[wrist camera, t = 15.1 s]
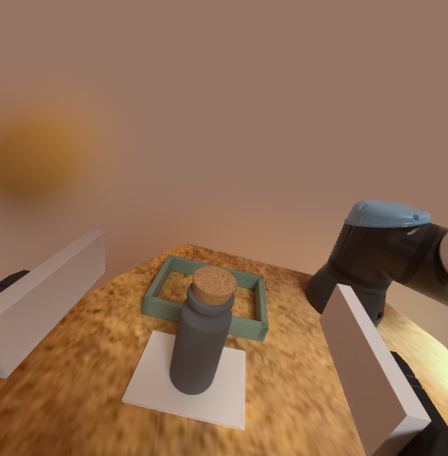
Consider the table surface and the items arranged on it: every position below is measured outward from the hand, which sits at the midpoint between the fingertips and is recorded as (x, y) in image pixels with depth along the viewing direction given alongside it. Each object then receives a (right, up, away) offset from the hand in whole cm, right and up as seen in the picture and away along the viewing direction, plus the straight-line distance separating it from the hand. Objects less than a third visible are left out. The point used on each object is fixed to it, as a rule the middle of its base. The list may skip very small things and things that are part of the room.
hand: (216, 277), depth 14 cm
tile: (-4, -16, +18) cm, 25 cm away
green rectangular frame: (-2, -10, +32) cm, 34 cm away
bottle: (-4, -16, +18) cm, 24 cm away
